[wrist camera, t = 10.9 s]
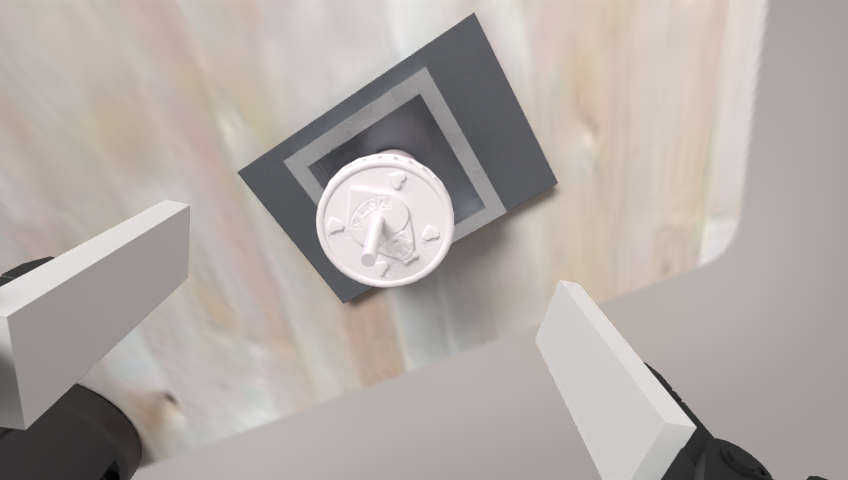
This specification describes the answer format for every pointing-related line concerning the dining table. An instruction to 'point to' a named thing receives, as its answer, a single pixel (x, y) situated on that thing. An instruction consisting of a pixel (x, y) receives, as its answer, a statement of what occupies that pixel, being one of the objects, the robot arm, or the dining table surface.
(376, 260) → the smoothie
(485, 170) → the collar
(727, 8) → the dining table surface
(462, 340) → the dining table surface
